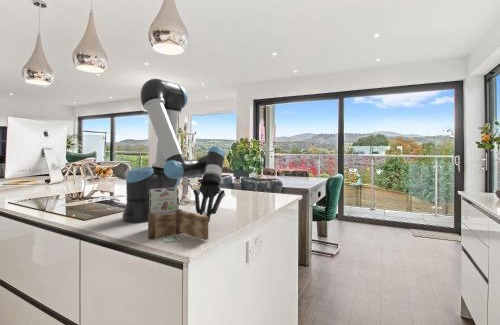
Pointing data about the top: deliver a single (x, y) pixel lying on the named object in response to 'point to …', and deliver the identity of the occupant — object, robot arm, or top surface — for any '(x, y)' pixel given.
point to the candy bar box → (163, 200)
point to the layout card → (170, 239)
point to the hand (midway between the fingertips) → (202, 229)
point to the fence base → (163, 225)
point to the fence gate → (193, 224)
